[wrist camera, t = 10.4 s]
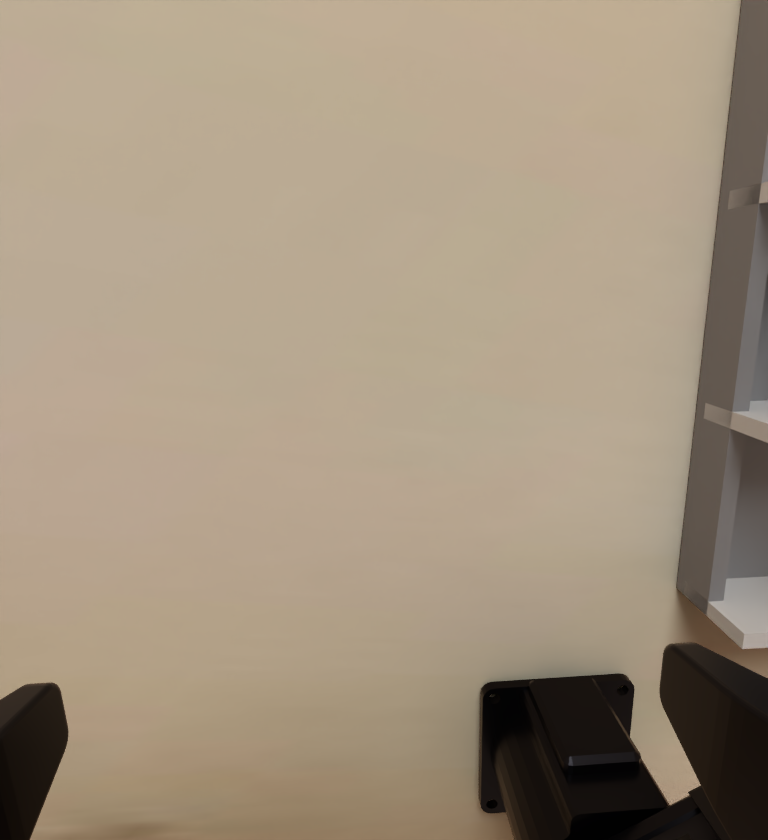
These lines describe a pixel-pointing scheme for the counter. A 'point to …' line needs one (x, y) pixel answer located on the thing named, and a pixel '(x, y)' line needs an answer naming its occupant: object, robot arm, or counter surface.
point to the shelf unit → (735, 373)
